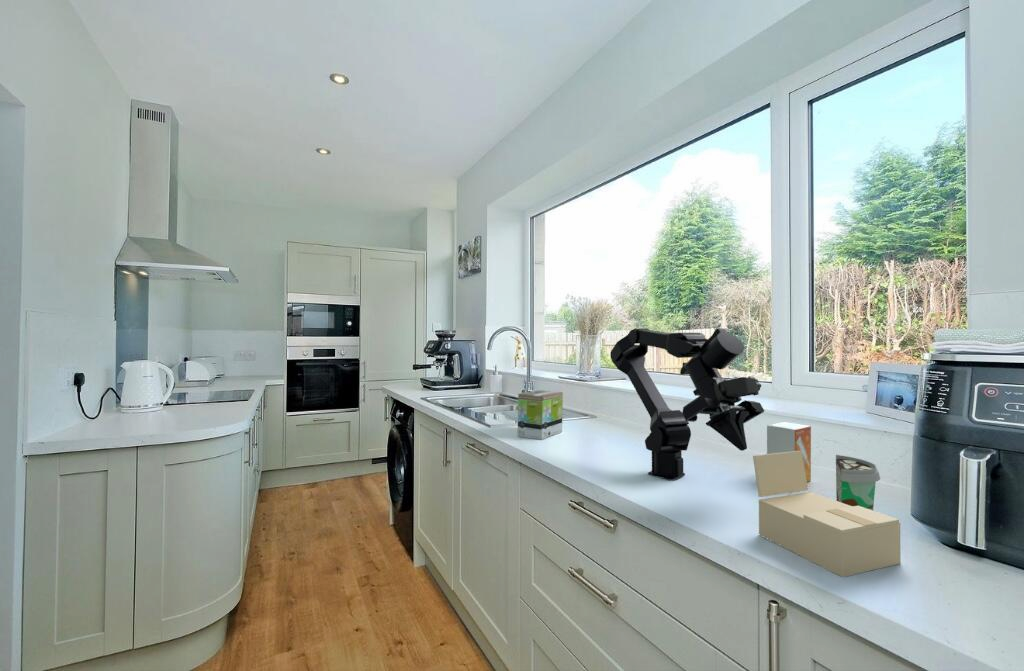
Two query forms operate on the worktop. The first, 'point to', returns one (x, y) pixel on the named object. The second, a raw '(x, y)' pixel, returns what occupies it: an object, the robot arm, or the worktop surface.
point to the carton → (831, 532)
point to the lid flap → (780, 473)
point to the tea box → (540, 414)
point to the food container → (855, 481)
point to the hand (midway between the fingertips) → (743, 449)
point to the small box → (791, 441)
